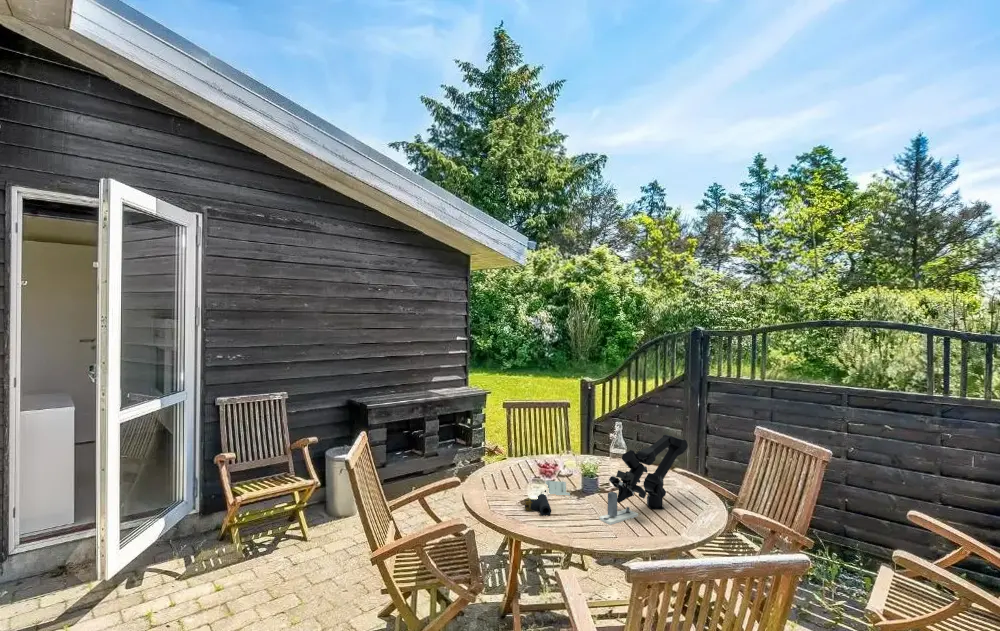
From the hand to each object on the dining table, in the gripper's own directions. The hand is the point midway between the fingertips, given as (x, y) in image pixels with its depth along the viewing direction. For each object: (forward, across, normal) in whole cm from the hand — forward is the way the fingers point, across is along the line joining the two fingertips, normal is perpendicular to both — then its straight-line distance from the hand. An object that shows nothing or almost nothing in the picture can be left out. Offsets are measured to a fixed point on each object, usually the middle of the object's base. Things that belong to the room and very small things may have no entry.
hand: (617, 502), depth 223 cm
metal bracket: (+8, -42, +4) cm, 43 cm away
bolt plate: (+5, 0, +6) cm, 7 cm away
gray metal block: (+7, 0, +2) cm, 7 cm away
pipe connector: (+24, -28, -12) cm, 38 cm away
